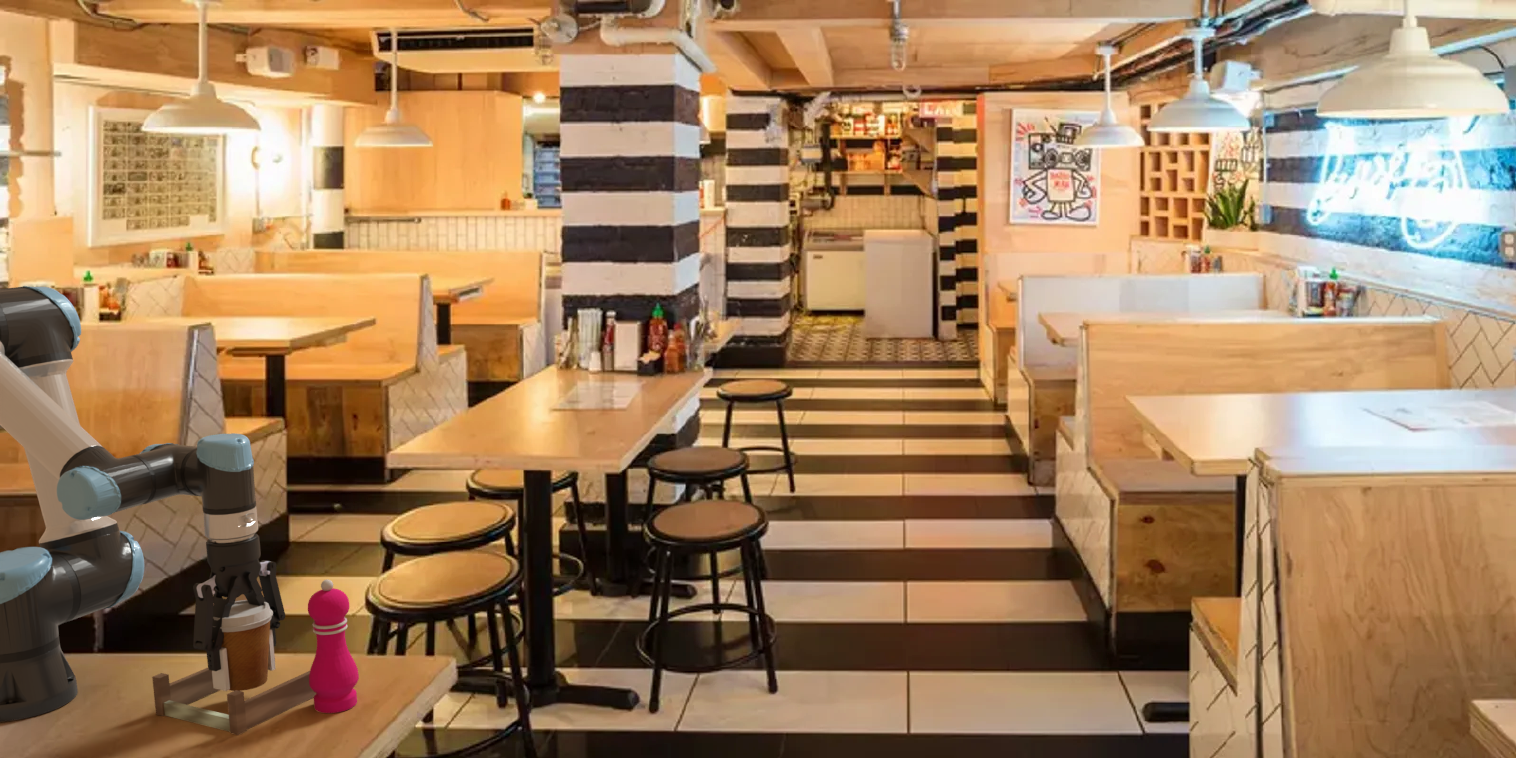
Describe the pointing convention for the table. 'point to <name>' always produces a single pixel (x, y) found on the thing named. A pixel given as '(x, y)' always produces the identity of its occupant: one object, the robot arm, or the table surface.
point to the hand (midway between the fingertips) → (245, 678)
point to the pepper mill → (331, 652)
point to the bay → (241, 713)
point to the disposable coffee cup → (247, 644)
